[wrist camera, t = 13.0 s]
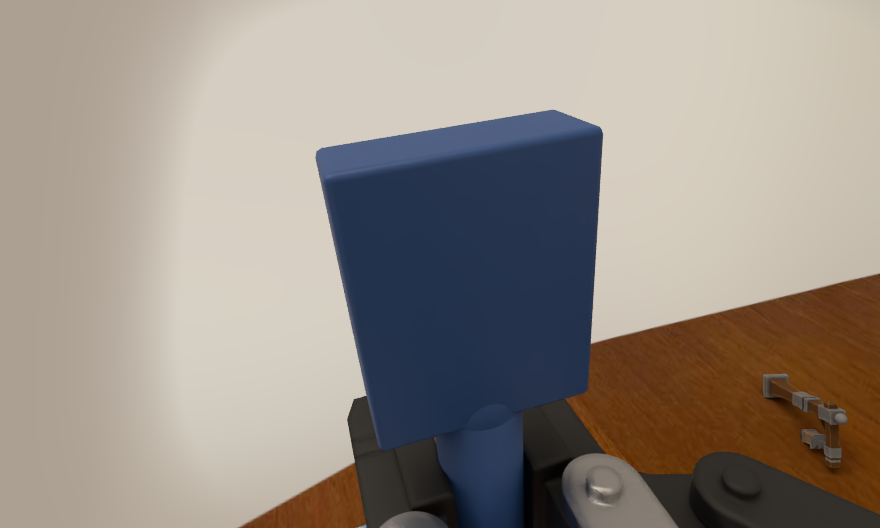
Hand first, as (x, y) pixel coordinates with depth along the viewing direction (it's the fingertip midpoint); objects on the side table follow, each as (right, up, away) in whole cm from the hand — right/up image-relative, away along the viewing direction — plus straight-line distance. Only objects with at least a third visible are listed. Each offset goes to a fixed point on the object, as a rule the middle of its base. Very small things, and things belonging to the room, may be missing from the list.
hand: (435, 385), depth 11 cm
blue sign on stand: (+2, -8, +1) cm, 8 cm away
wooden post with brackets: (+27, -10, +27) cm, 40 cm away
